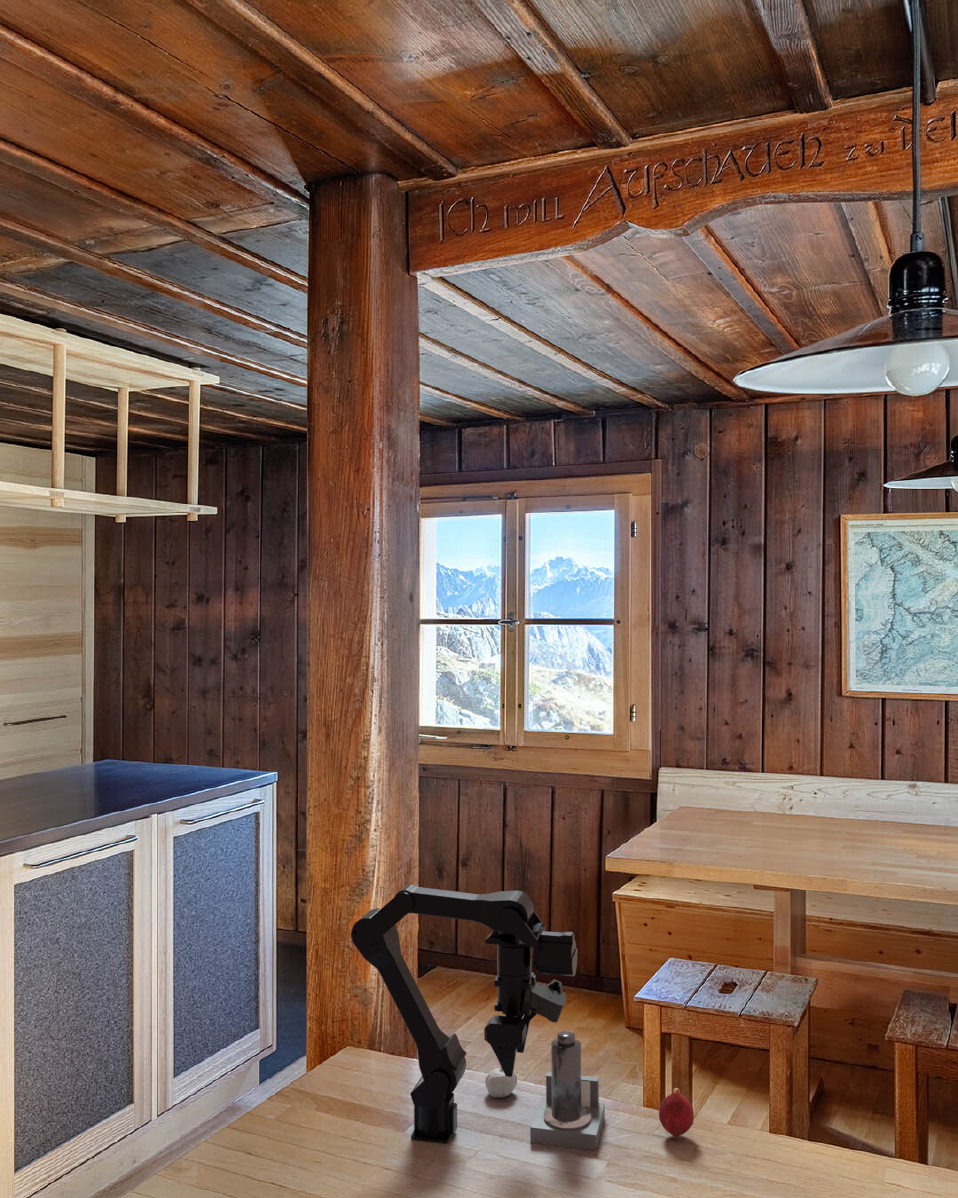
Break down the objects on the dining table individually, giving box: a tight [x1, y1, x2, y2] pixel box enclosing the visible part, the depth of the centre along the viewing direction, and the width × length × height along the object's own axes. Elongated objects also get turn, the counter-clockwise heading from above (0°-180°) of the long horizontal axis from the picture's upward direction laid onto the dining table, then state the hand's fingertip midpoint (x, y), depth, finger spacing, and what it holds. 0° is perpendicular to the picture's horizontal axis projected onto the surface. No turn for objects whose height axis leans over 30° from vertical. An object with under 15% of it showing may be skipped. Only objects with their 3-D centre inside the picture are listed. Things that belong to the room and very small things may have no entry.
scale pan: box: [544, 1106, 591, 1130], centre depth 179 cm, size 8×8×1 cm
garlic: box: [484, 1066, 518, 1098], centre depth 193 cm, size 6×5×5 cm
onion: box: [658, 1087, 695, 1138], centre depth 177 cm, size 6×6×8 cm
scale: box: [529, 1071, 606, 1151], centre depth 180 cm, size 11×11×7 cm
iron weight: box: [550, 1030, 582, 1122], centre depth 178 cm, size 5×5×14 cm
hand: (514, 1064), depth 176 cm, fingers open, 9 cm apart
